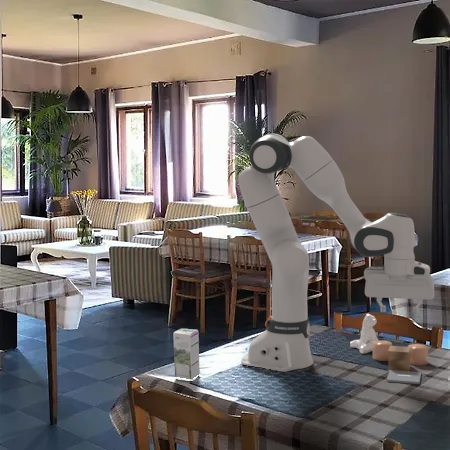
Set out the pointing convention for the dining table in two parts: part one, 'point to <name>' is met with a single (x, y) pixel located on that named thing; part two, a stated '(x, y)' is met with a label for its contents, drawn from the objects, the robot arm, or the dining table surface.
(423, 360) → the peach rounded cylinder
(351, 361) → the dining table surface
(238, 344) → the dining table surface
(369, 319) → the seated beast figurine
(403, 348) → the walnut cube
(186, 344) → the syrup box
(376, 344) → the rounded tan cylinder
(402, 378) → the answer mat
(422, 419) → the dining table surface
